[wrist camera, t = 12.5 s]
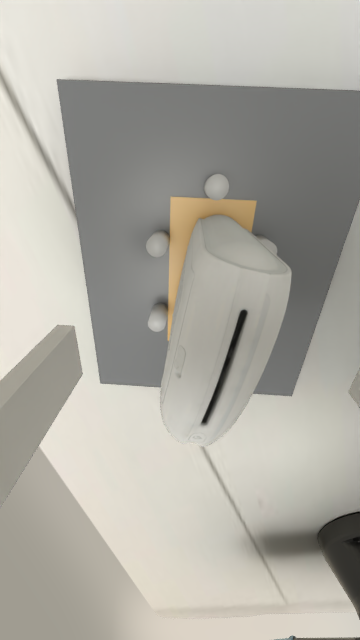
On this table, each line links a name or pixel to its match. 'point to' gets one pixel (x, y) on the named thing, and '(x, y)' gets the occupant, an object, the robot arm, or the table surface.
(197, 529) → the table surface
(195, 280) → the photo printer
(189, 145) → the pin tray
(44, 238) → the table surface
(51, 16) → the table surface
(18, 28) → the table surface
